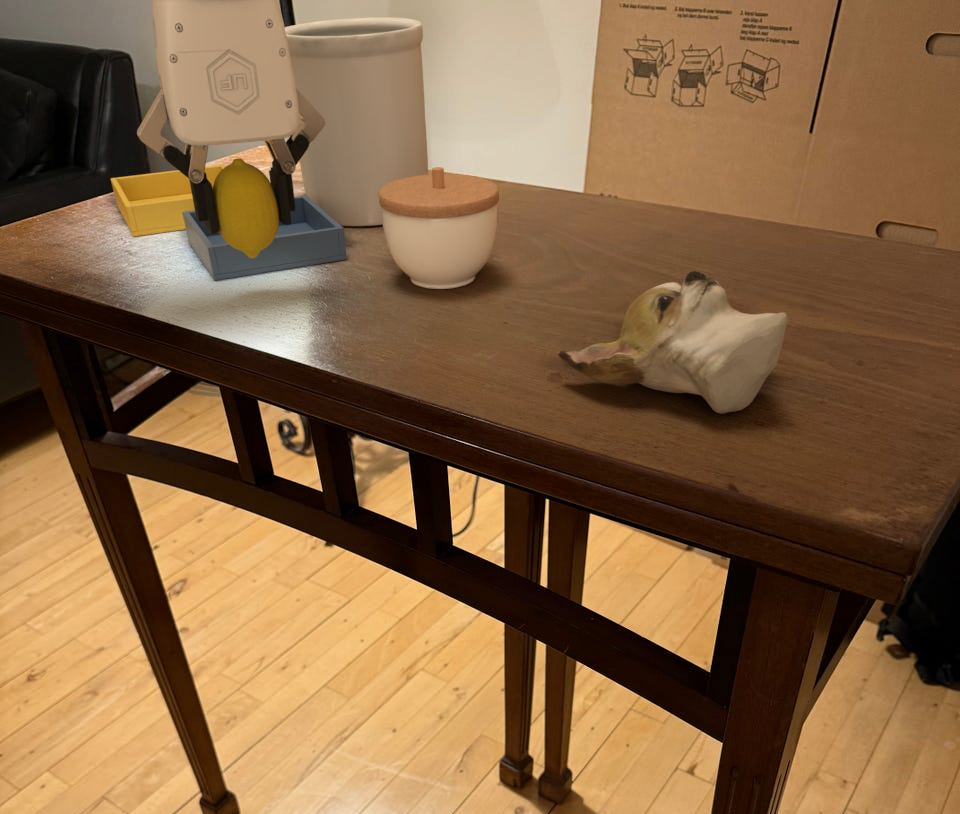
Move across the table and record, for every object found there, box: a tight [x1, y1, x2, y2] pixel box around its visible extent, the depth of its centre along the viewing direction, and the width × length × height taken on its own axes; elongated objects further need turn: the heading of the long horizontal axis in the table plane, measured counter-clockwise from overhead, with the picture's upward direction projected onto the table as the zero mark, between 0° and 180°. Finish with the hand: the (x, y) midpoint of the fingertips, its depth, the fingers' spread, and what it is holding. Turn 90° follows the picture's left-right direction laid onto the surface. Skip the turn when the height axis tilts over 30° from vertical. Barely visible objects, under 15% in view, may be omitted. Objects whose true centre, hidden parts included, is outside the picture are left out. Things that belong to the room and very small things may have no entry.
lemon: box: [213, 158, 279, 258], centre depth 78 cm, size 6×6×8 cm
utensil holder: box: [284, 16, 429, 227], centre depth 98 cm, size 15×15×18 cm
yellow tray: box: [110, 164, 227, 237], centre depth 103 cm, size 13×13×3 cm
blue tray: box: [182, 194, 348, 281], centre depth 92 cm, size 13×13×3 cm
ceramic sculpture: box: [557, 270, 789, 415], centre depth 64 cm, size 11×9×15 cm
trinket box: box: [378, 166, 500, 290], centre depth 82 cm, size 11×11×9 cm
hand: (247, 223), depth 79 cm, fingers closed on lemon, 5 cm apart
